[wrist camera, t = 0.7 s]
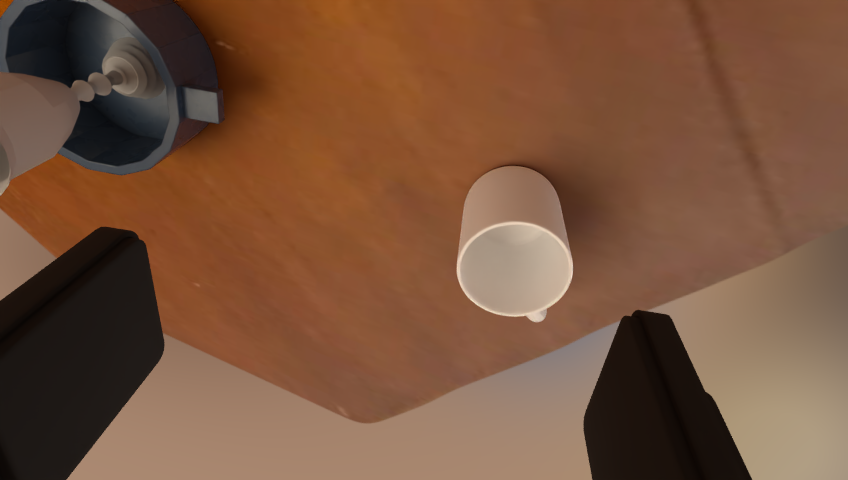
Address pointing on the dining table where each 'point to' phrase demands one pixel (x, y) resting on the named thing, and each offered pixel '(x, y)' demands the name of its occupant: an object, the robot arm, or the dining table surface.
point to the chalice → (64, 105)
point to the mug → (514, 244)
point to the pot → (114, 113)
